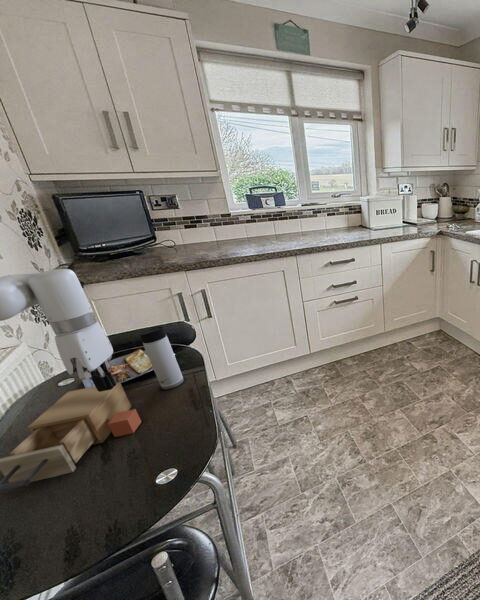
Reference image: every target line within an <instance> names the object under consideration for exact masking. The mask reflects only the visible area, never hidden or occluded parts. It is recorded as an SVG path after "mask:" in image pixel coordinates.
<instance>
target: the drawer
mask: <svg viewBox="0 0 480 600" xmlns="http://www.w3.org/2000/svg"><path fill="white" fill-rule="evenodd" d="M96 439H97V437H96V435H95V433H94V432H93V430H92V428H91V426H90V424H89V422H88V421H87V419H86V418H84V419H79V420H74V421H69V422H65V423H60V424H55V425H50V426H45V427H41V428H37V429H36V430H35V431H34V432H33V433H32V434H31V433H30V434H29V435H28V436H27V437H26V438H25V439H24V440H22V442H20V443H19V444H17V446H16V447H15V448H14V449H13V450H12V451H11V452H9V455H10V456H9V455H8V456H5V457H4V456H3V457H1V458H0V472H1V473H2V475H3V476H4V477H3V478H2V479H1V480H0V493H4V492H8V491H13V490H16V489H21V488H25V487H28V486H30V484H31V483H33V482H37V481H41V480H45V479H50V478H53V477H58V476H62V475H67V474H70V473H71V474H72V473H74V472H75V471H76V469H77V467H76V465H75V464H77V463H78V462H79V460H80V459H81V458H82V457H83V456H84V454H85V453H86V452H87V451H88V449H90V447H91V446H93V445H92V443H93V442H94V441H95V440H96ZM7 482H8V483H7Z"/></svg>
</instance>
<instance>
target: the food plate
mask: <svg viewBox="0 0 480 600" xmlns="http://www.w3.org/2000/svg"><path fill="white" fill-rule="evenodd" d="M109 365H110V368H111V371H110V372H111V374H112V376H113V378H114V380H115V383H116V382H120V383H121V384H122V383H126V382H128V381H130V380H134V379H136V378H138V377H140V376H143V375H145V374H147V373H149V372H151V371H154V369H153V367H152V364H151V362H150V359H149V357H148V355H147V352H146V350H145V349H141V348H138V349H136V350H134V351H132V352H131V353H128V354H125V355H122V356H118V357H116V358H113V359H110V361H109ZM81 381H82V383H83V386H84V389H85V388H90V387H95V385H94V383H93V381H92V379H91V380H90V379H89V378H88V379H84V380H81Z"/></svg>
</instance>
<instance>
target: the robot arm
mask: <svg viewBox="0 0 480 600" xmlns="http://www.w3.org/2000/svg"><path fill="white" fill-rule="evenodd" d="M35 305H39V307H40V308H41V310H42V312H43V314H44V316H45V317H46V320H47V321H48V323H49V325H50V327H51V329H52V331H53V334H54V335H55V336H54V341H55V346H56V349H57V352H58V354H59V357H60V359H61V362H62V365H63V366H64V368H65V370H66V372H67V373H68V375H70V376H73V375H76V374H77V377H78V379H79V380H80V381H82V380H84V379H88V378H89V379H90V380H91V379H92V381H93V383H94V385H95V386H96V388H97V390H98V391H99V392H101V391H106V390H111V389H113V387H114V386H115V385H116V383H115V380H114V378H113V376H112V374H111V372H110V371H111V368H110V365H109V361H111V360H112V357H113V353H114V349H113V346H112V343H111V341H110V339H109V337H108V335H107V334H106V331H105V330H104V329H103V327H102V326H101V324H100V323H99V320H98V319H97V316H96V314H95V312H94V310H93V308H92V306H91V304H90V301H89V299H88V297H87V295H86V294H85V291H84V289H83V287H82V284H81V282H80V280H79V278H78V276H77V274H76V273H75V272H74V271H73V270H72V269H70V268H57V269H50V270H46V271H41V272H37V273H18V274H8V275H3V276H1V277H0V322H2V321H6V320H9V319H11V318H14V317H15V316H18V314H20V313H22V312H23V311H26V310H27V309H29V308H31V307H34V306H35Z"/></svg>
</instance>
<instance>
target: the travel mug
mask: <svg viewBox="0 0 480 600" xmlns="http://www.w3.org/2000/svg"><path fill="white" fill-rule="evenodd" d="M139 337H140V340H141V343H142V345H143V347H144V350H146V352H147V355H148V357H149V359H150V362H151V364H152V367H153V371H154V374H155V376H156V378H157V381H158V383H159V386H160V388H161V389H162V390H171V389H174V388H176V387H178V386H180V385H181V384H183V382H184V380H185V379H184V375H183V374H182V371H181V368H180V365H179V363H178V361H177V359H176V355H175V353H174V351H173V347H172V345H171V341H169V340H170V339H169V337H168V335H167V333H166V329H165V328H164V326H156V327H153V328H150V329H148V330H144V331H141V332H139Z"/></svg>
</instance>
